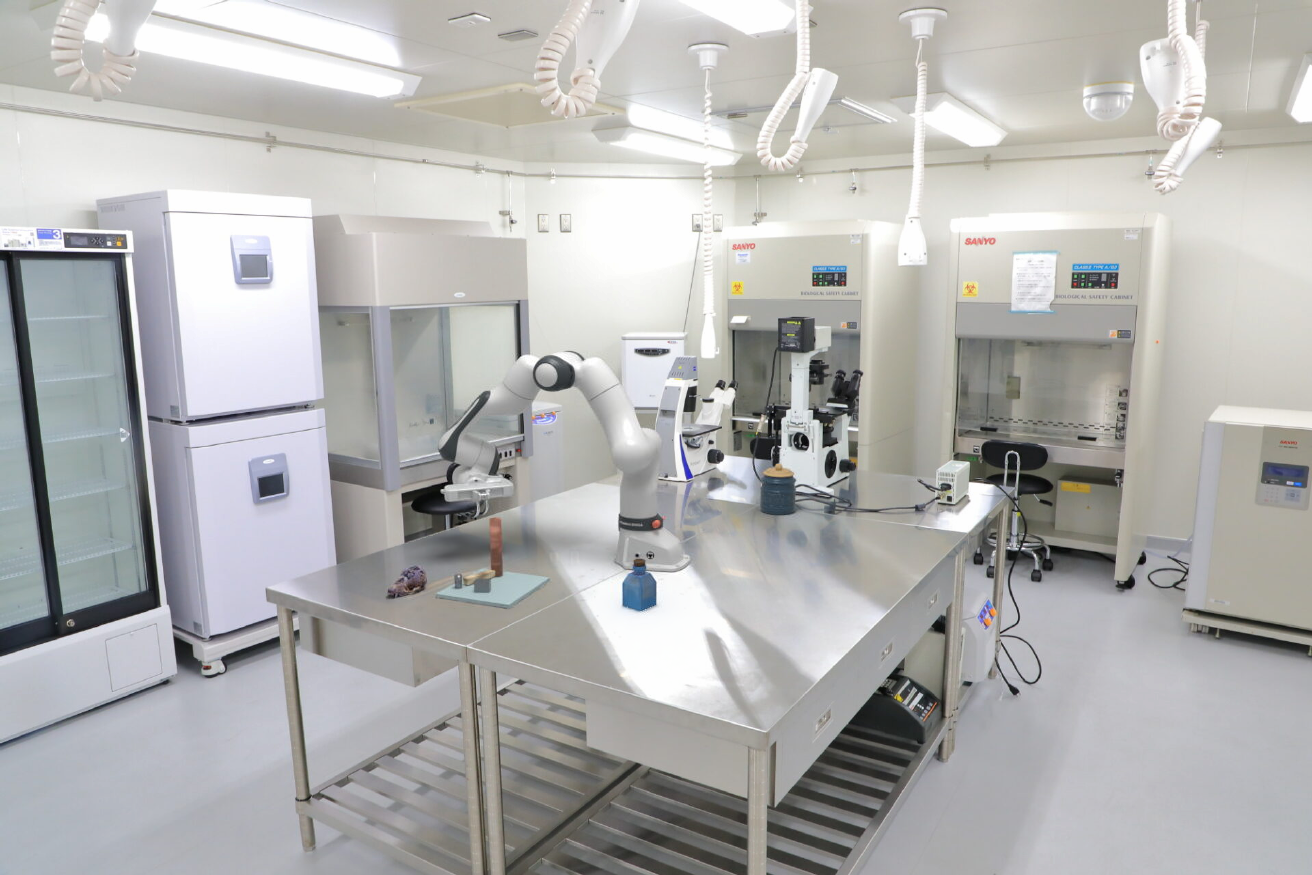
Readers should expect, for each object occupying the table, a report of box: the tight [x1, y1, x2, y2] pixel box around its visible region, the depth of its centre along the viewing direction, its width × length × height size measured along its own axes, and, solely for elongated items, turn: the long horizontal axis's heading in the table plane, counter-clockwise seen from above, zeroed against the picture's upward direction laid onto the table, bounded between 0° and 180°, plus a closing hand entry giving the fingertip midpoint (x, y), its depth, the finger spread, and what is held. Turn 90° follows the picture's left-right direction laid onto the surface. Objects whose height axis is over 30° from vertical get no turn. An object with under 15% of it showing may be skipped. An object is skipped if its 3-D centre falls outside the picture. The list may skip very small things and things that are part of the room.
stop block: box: [474, 579, 491, 593], centre depth 225 cm, size 4×2×3 cm, turn 89°
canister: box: [759, 463, 797, 516], centre depth 309 cm, size 13×13×18 cm
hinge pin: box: [453, 573, 463, 589], centre depth 227 cm, size 2×2×4 cm
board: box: [435, 568, 551, 609], centre depth 230 cm, size 22×22×1 cm
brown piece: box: [462, 517, 504, 585], centre depth 232 cm, size 12×3×16 cm, turn 139°
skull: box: [386, 564, 428, 599], centre depth 227 cm, size 12×8×6 cm, turn 144°
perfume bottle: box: [621, 559, 658, 612], centre depth 217 cm, size 6×6×12 cm
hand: (484, 497), depth 245 cm, fingers closed
